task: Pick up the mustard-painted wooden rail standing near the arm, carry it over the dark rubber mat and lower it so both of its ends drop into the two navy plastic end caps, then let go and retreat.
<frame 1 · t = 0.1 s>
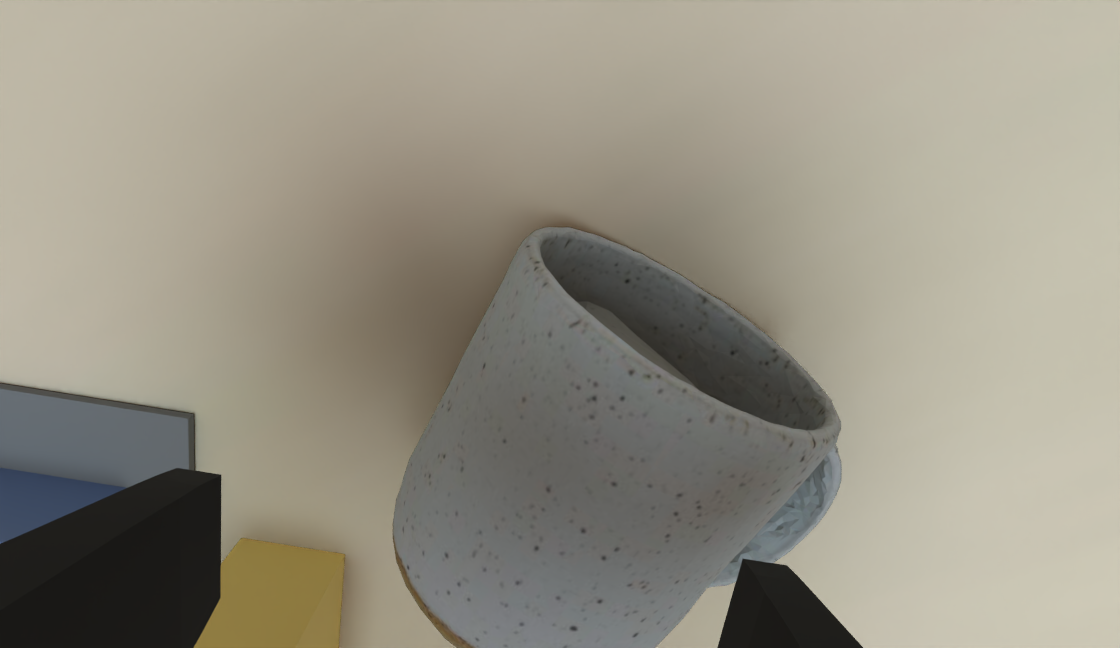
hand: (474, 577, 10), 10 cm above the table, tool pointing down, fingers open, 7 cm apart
ceramic mug: (641, 400, 20), on the table
end cap b: (22, 482, 21), resting on mat
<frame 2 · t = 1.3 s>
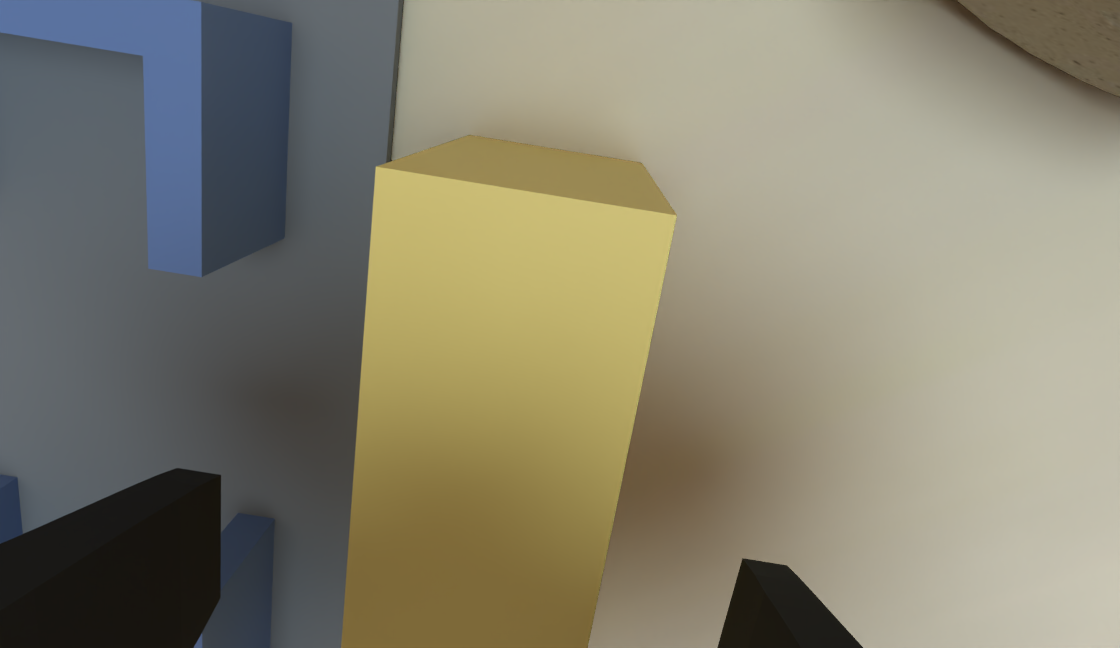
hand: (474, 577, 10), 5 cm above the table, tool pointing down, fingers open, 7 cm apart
slat: (516, 415, 15), on the table
mat: (131, 357, 15), on the table
end cap a: (132, 622, 16), resting on mat
end cap b: (109, 17, 12), resting on mat
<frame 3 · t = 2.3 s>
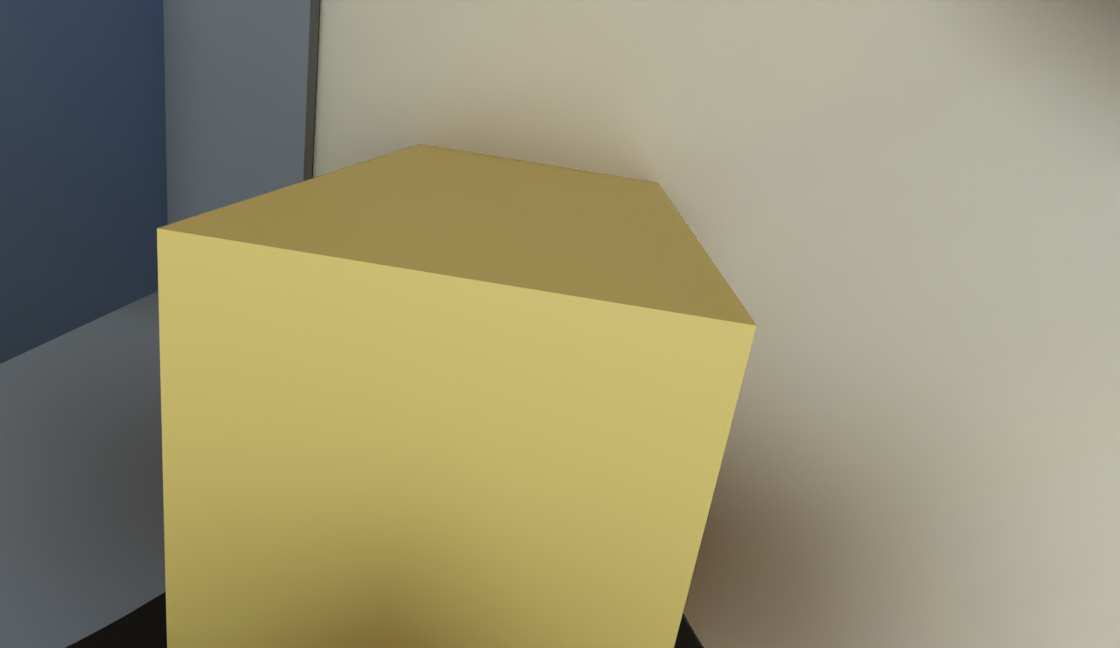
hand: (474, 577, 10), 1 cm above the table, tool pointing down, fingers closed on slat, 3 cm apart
slat: (488, 517, 11), on the table, touching gripper
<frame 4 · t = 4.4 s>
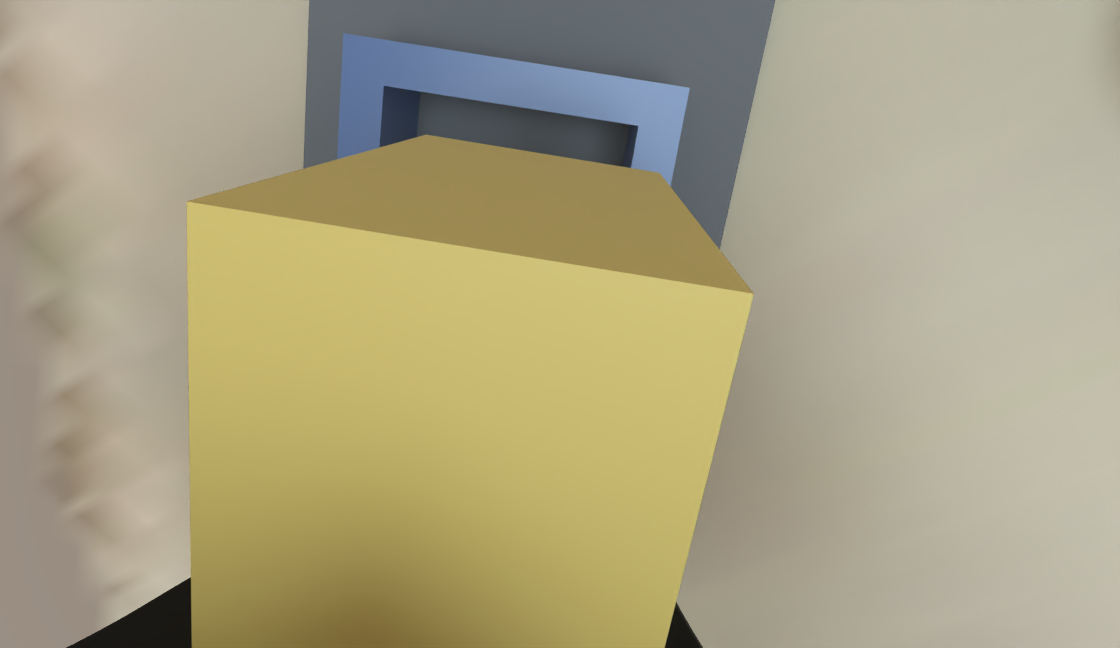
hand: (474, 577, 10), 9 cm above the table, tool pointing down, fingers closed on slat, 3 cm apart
slat: (492, 502, 11), point 7 cm above the table, touching gripper
mat: (495, 348, 18), on the table
end cap b: (528, 84, 16), resting on mat
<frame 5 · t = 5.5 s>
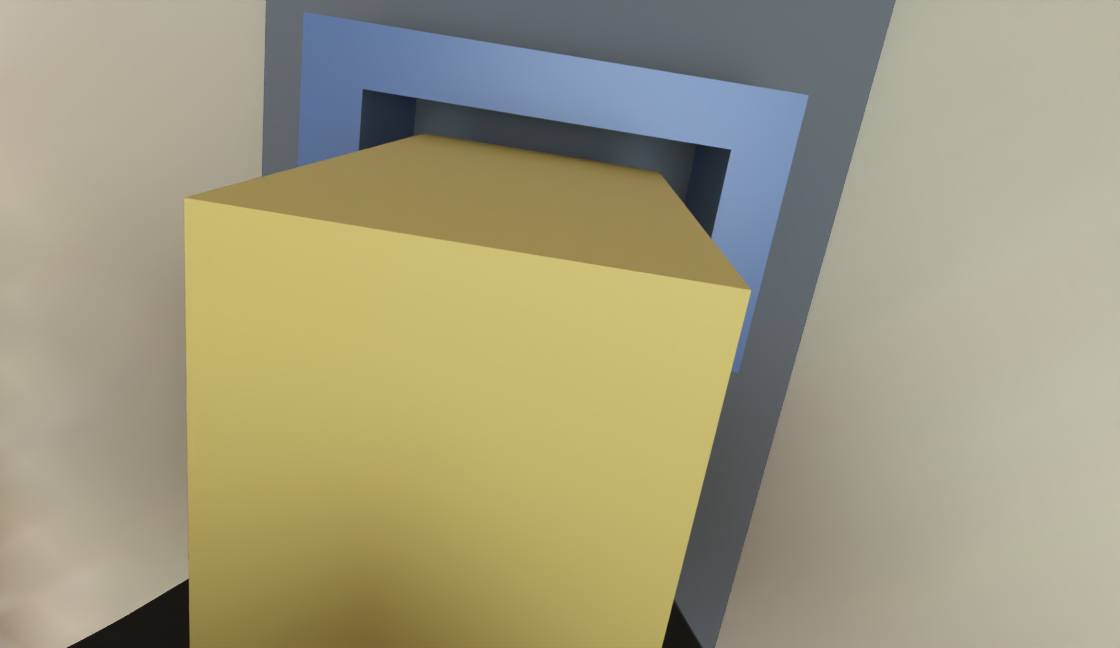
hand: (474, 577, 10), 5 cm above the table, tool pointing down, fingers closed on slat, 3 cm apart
slat: (491, 500, 11), point 3 cm above the table, touching gripper
mat: (512, 427, 14), on the table
end cap b: (562, 87, 12), resting on mat
when the fingers open (3 cm above the table, at t = 6.3 s): slat stays where it is, resting on mat.
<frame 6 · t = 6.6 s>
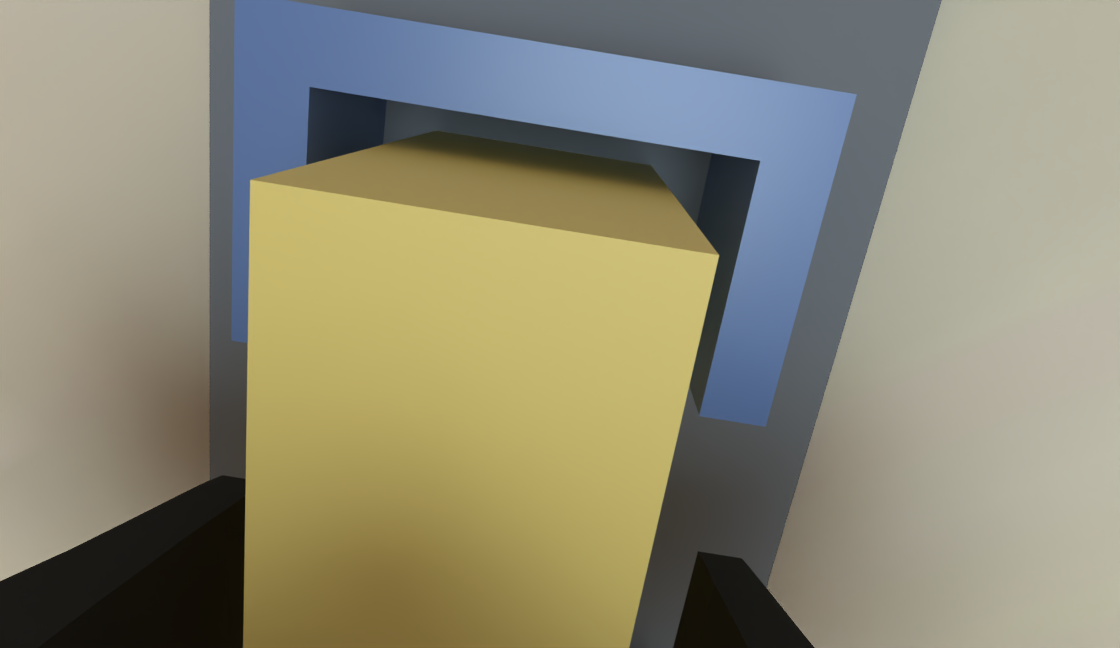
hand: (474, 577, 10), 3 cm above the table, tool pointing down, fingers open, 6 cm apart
slat: (497, 473, 12), resting on mat
mat: (500, 470, 13), on the table
end cap b: (555, 85, 10), resting on mat
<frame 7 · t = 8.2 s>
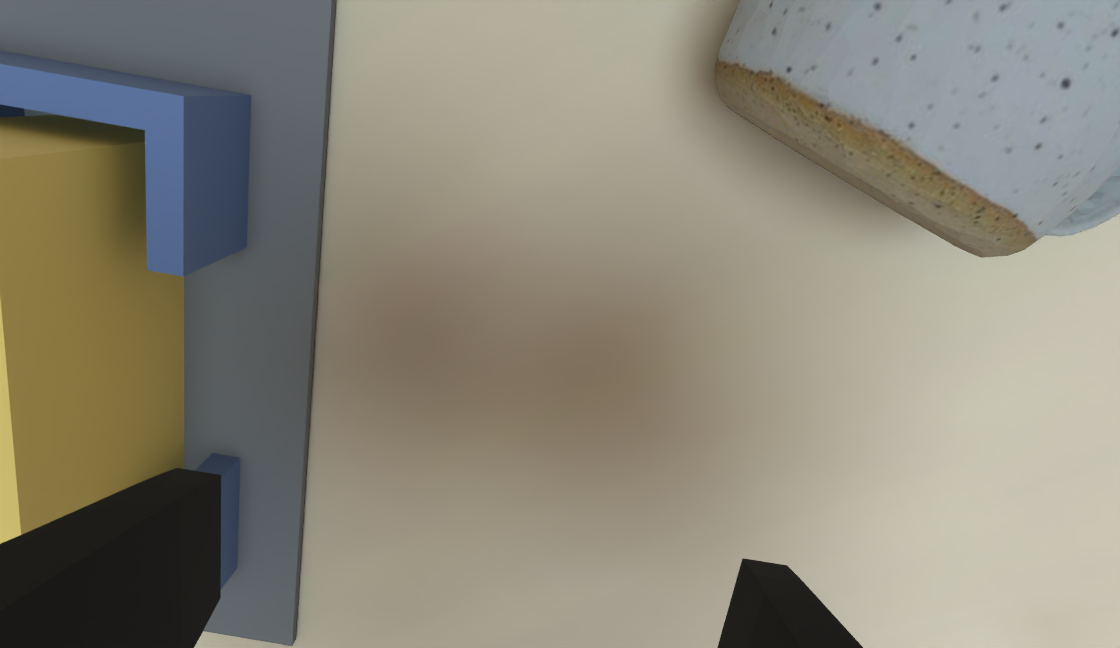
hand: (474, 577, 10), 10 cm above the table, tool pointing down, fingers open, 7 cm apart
slat: (125, 333, 19), resting on mat
ceramic mug: (953, 24, 17), on the table
mat: (133, 334, 20), on the table
end cap a: (131, 538, 21), resting on mat
end cap b: (120, 88, 17), resting on mat
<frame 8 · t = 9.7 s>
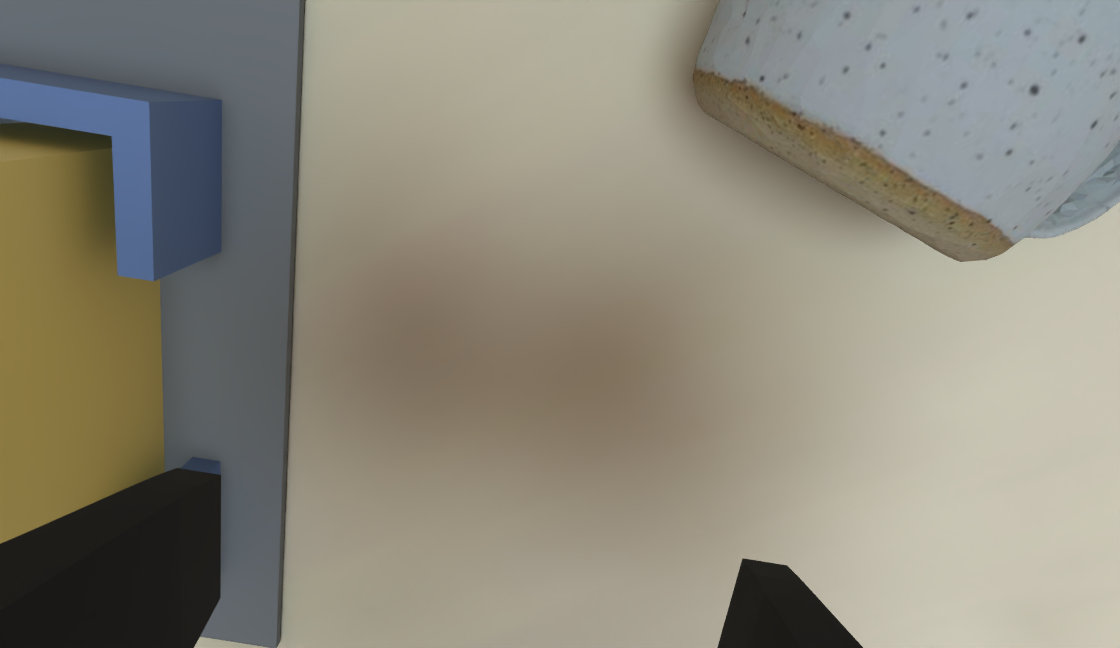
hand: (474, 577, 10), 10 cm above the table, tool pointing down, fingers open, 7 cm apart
slat: (103, 339, 19), resting on mat
ceramic mug: (934, 28, 17), on the table
mat: (111, 339, 20), on the table
end cap a: (114, 543, 22), resting on mat
end cap b: (91, 95, 17), resting on mat
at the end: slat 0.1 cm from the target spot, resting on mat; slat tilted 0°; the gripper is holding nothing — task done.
